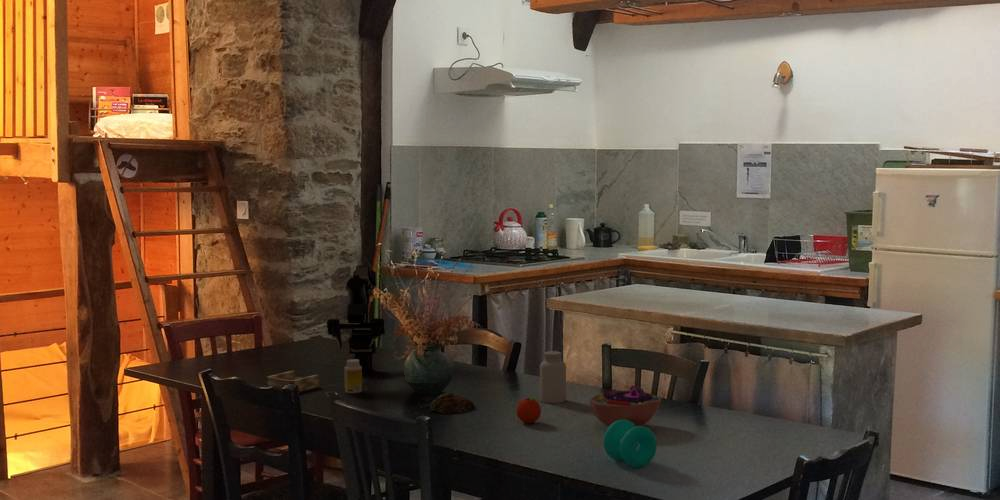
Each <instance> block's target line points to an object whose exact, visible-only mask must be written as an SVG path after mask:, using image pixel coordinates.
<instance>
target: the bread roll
mask: <svg viewBox="0 0 1000 500" xmlns="http://www.w3.org/2000/svg"><path fill="white" fill-rule="evenodd" d="M475 406H476V405H475V404H474V402H473V401H472V400H471V398H467V397H465V396H463V395H459V394H457V393H451V392H450V393H442V394H440V395H439V396H436V398H435V399H433V400H432V401H431V403H430V405H429V410H430V412H438V413H439V414H440V413H441V415H452V413H453V414H463V413H467V412H469V411H472V410H474V409H475ZM466 411H467V412H466ZM462 412H463V413H462ZM450 413H451V414H450Z"/></svg>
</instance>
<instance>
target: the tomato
mask: <svg viewBox="0 0 1000 500" xmlns="http://www.w3.org/2000/svg"><path fill="white" fill-rule="evenodd" d="M538 401H540V402H541V400H540V399H538V398H532V397H528V398H524V399H521V401H519V403H518V404H517V406H516V411H515V412H516V416H517V418H518V419H519V420H520V421H521V422H523V423H525V424H533V423H535V422H537V420H538V419H540V417H541V413H542V409H541V408H542V407H541V406H540V404H539V402H538ZM541 404H542V405H544V402H541Z"/></svg>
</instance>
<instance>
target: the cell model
mask: <svg viewBox="0 0 1000 500" xmlns="http://www.w3.org/2000/svg"><path fill="white" fill-rule="evenodd" d="M589 400H590V401H589V403H590V404H589V405H590V410H591V412H592V414H593V415H594V417H595V418H596V419H597V420H599V422H600V423H601V424H603V425H605V426H606V427H609V426H610V425H611V424H612V423H614V422H615V421H618V420H628V421H630V422H632V423H633V424H634V425H635V426H644V425H646V424H647V423H649V422H650V420H652V419H653V417H654V416H655V415H656V413H657V411H658V409H659V407H660V404H661V401H662V397H660V396H658V395H654V394H651V393H649V392H645V391H644V389H643V388H641V387H640V386H638V385H631V386H630V388H629V390H613V391H612V390H611V391H609V390H607V391H606V390H603V392H601V393H599V394H596V395H595V396H592V397H590V398H589Z"/></svg>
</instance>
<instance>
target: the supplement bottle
mask: <svg viewBox="0 0 1000 500" xmlns="http://www.w3.org/2000/svg"><path fill="white" fill-rule="evenodd" d="M343 369H344V371H343V372H344V374H343V375H344V380H343V381H344V383H343V384H344V392H345V393H347V394H359V393H361V392H362V391H363V372H362V367H361V366H360V365H359V360H358V359H351V358H350V359H347V360H346V366H344V368H343Z"/></svg>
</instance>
